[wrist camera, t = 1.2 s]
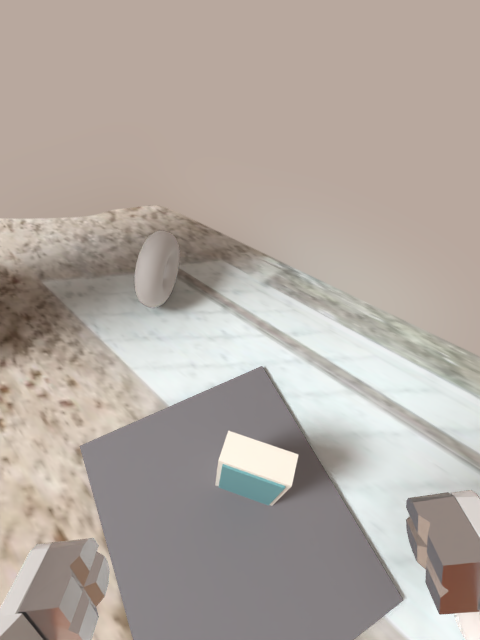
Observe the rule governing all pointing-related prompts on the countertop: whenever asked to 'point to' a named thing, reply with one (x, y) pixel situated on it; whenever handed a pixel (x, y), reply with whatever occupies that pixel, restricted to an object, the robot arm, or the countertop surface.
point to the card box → (255, 469)
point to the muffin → (469, 624)
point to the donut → (157, 268)
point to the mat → (230, 529)
